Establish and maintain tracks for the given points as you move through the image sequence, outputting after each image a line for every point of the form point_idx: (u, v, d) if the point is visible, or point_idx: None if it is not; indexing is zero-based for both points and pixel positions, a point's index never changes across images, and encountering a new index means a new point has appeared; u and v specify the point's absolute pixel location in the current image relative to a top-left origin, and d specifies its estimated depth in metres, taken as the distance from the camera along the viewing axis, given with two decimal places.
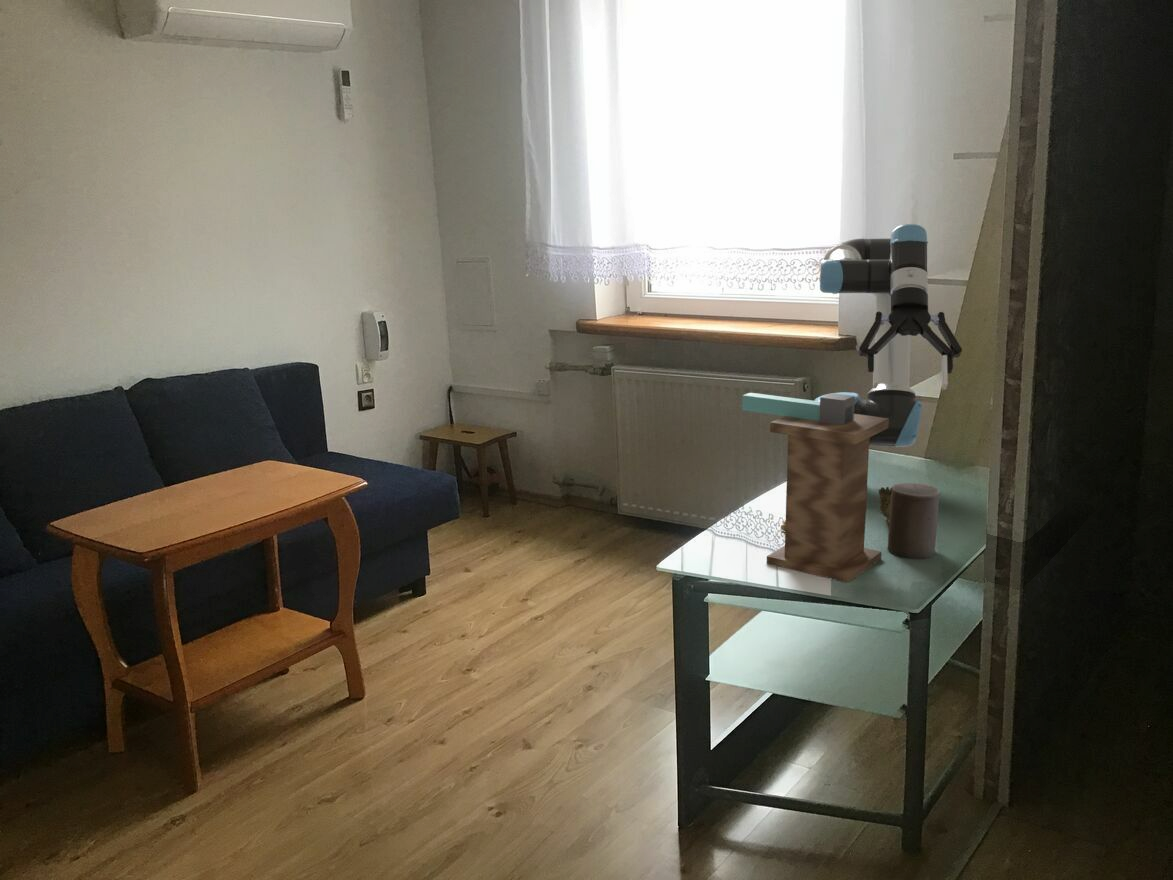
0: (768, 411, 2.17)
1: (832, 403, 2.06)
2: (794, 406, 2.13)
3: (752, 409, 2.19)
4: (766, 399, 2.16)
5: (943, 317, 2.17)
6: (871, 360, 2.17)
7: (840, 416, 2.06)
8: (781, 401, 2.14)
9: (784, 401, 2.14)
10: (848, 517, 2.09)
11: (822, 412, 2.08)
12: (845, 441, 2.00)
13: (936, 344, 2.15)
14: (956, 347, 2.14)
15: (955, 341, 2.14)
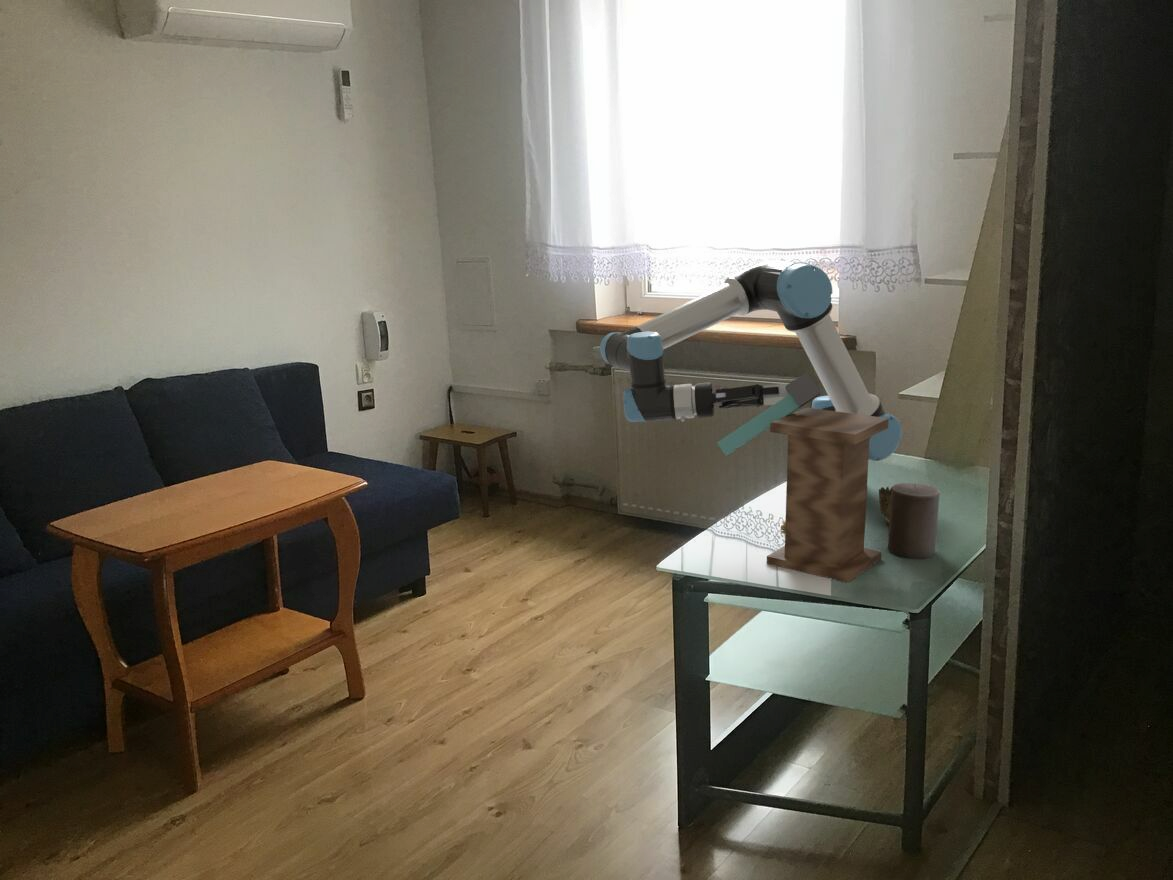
0: (749, 436, 2.15)
1: (799, 381, 2.13)
2: (768, 413, 2.14)
3: (734, 447, 2.15)
4: (740, 428, 2.15)
5: (722, 400, 2.21)
6: None
7: (813, 386, 2.12)
8: (754, 419, 2.15)
9: (757, 416, 2.15)
10: (848, 517, 2.09)
11: (796, 396, 2.13)
12: (845, 441, 2.00)
13: None
14: (754, 397, 2.17)
15: (748, 397, 2.18)
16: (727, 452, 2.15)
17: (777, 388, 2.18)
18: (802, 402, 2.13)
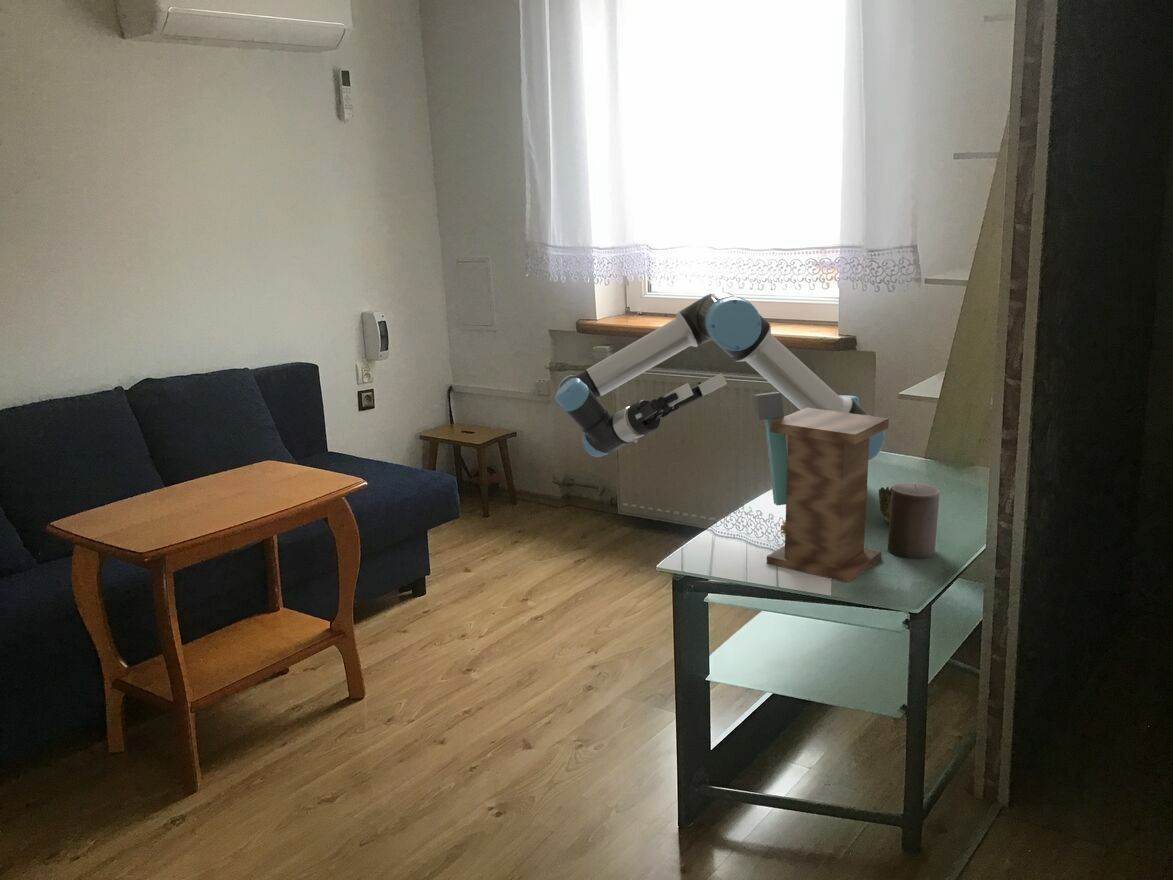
0: (786, 473, 2.15)
1: (762, 406, 2.13)
2: (775, 447, 2.15)
3: None
4: (775, 478, 2.15)
5: (641, 420, 2.31)
6: None
7: (773, 396, 2.13)
8: (773, 461, 2.15)
9: (772, 458, 2.15)
10: (848, 517, 2.09)
11: (773, 415, 2.13)
12: (845, 441, 2.00)
13: None
14: (657, 410, 2.25)
15: (653, 413, 2.26)
16: None
17: (673, 395, 2.22)
18: (782, 413, 2.13)
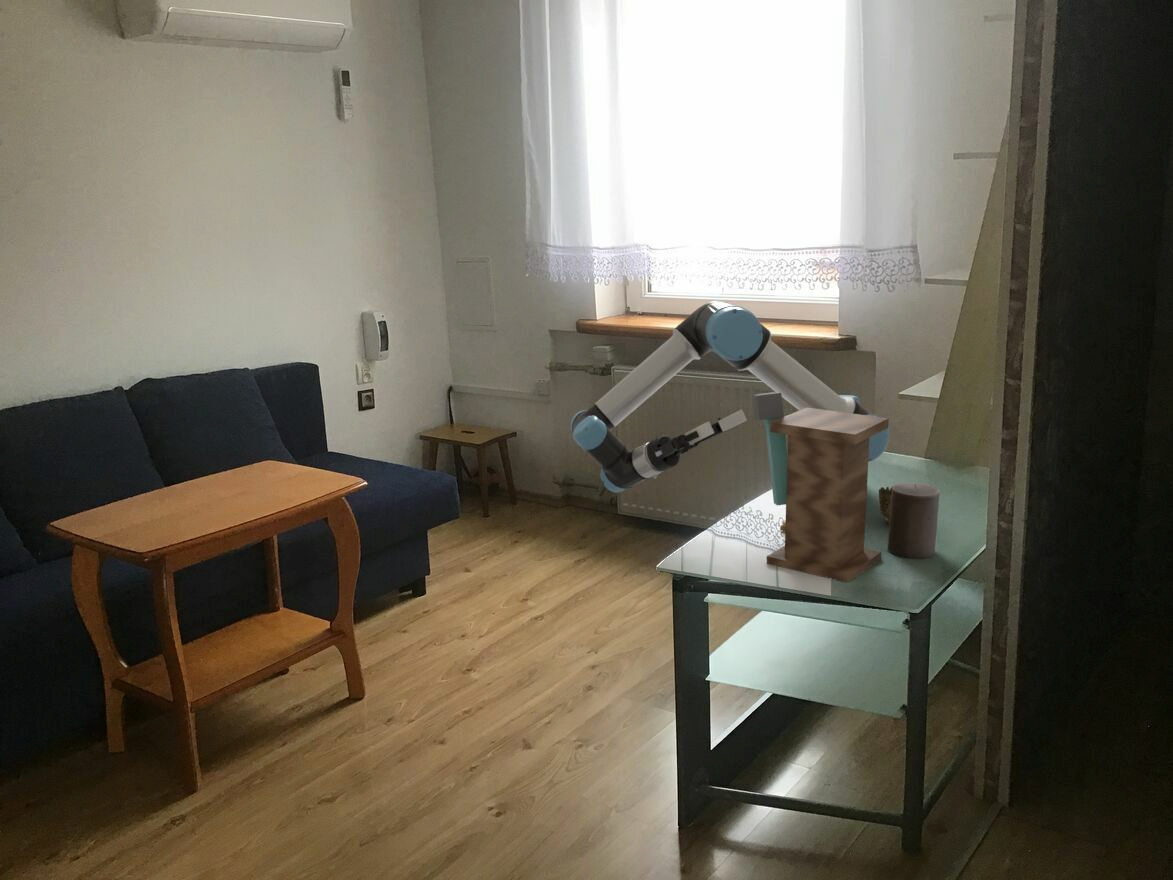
0: (786, 473, 2.15)
1: (762, 406, 2.13)
2: (775, 447, 2.15)
3: None
4: (775, 478, 2.15)
5: (661, 458, 2.29)
6: None
7: (773, 396, 2.13)
8: (773, 461, 2.15)
9: (772, 458, 2.15)
10: (848, 517, 2.09)
11: (773, 415, 2.13)
12: (845, 441, 2.00)
13: None
14: None
15: (674, 451, 2.24)
16: None
17: (693, 433, 2.21)
18: (782, 413, 2.13)
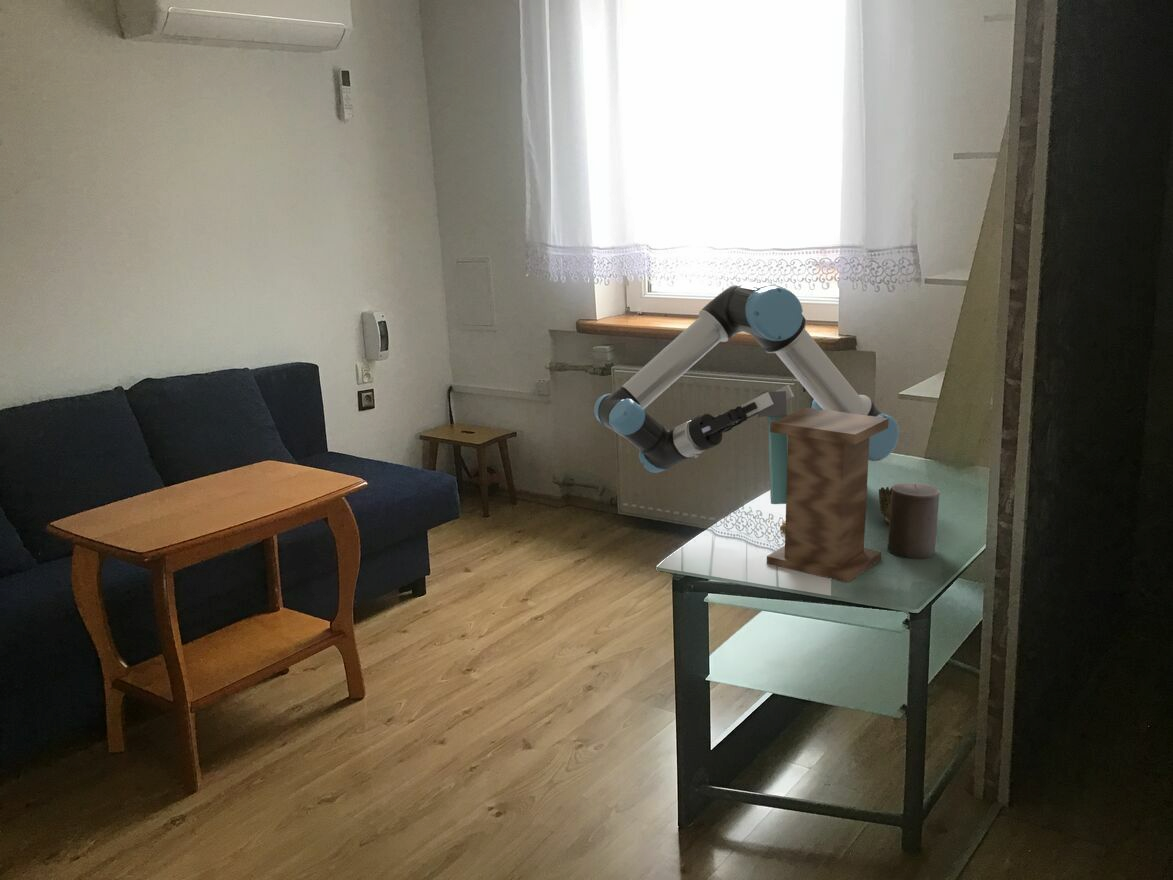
0: (785, 473, 2.15)
1: None
2: (776, 445, 2.15)
3: None
4: (773, 476, 2.15)
5: (709, 433, 2.21)
6: None
7: (777, 394, 2.15)
8: (773, 459, 2.15)
9: (772, 456, 2.15)
10: (848, 517, 2.09)
11: (776, 413, 2.14)
12: (845, 441, 2.00)
13: None
14: (734, 421, 2.16)
15: (729, 424, 2.17)
16: None
17: (751, 404, 2.14)
18: (785, 411, 2.14)
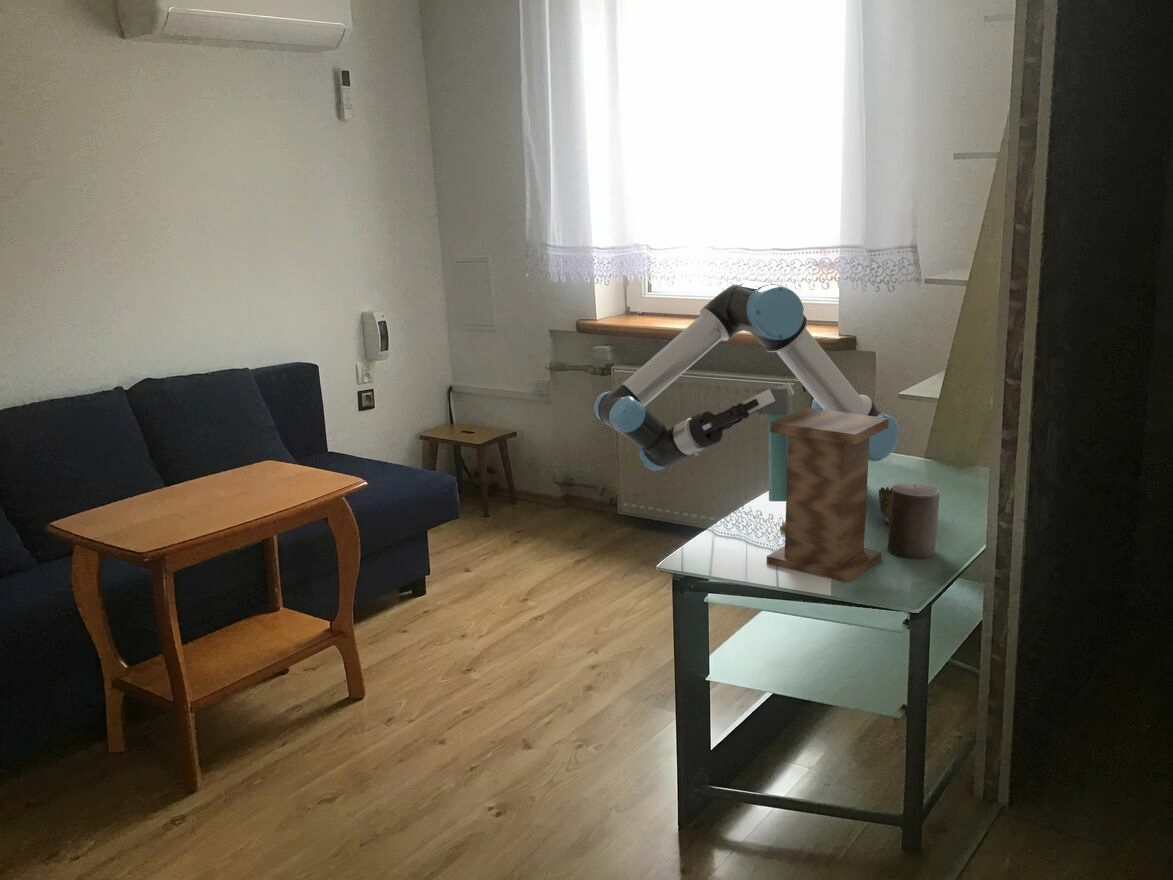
0: (784, 470, 2.15)
1: None
2: (776, 443, 2.15)
3: (785, 489, 2.15)
4: (772, 474, 2.15)
5: (710, 431, 2.21)
6: None
7: (778, 391, 2.15)
8: (772, 457, 2.15)
9: (772, 454, 2.15)
10: (848, 517, 2.09)
11: (777, 410, 2.15)
12: (845, 441, 2.00)
13: None
14: (736, 418, 2.16)
15: (730, 421, 2.17)
16: None
17: (753, 401, 2.14)
18: (786, 409, 2.15)
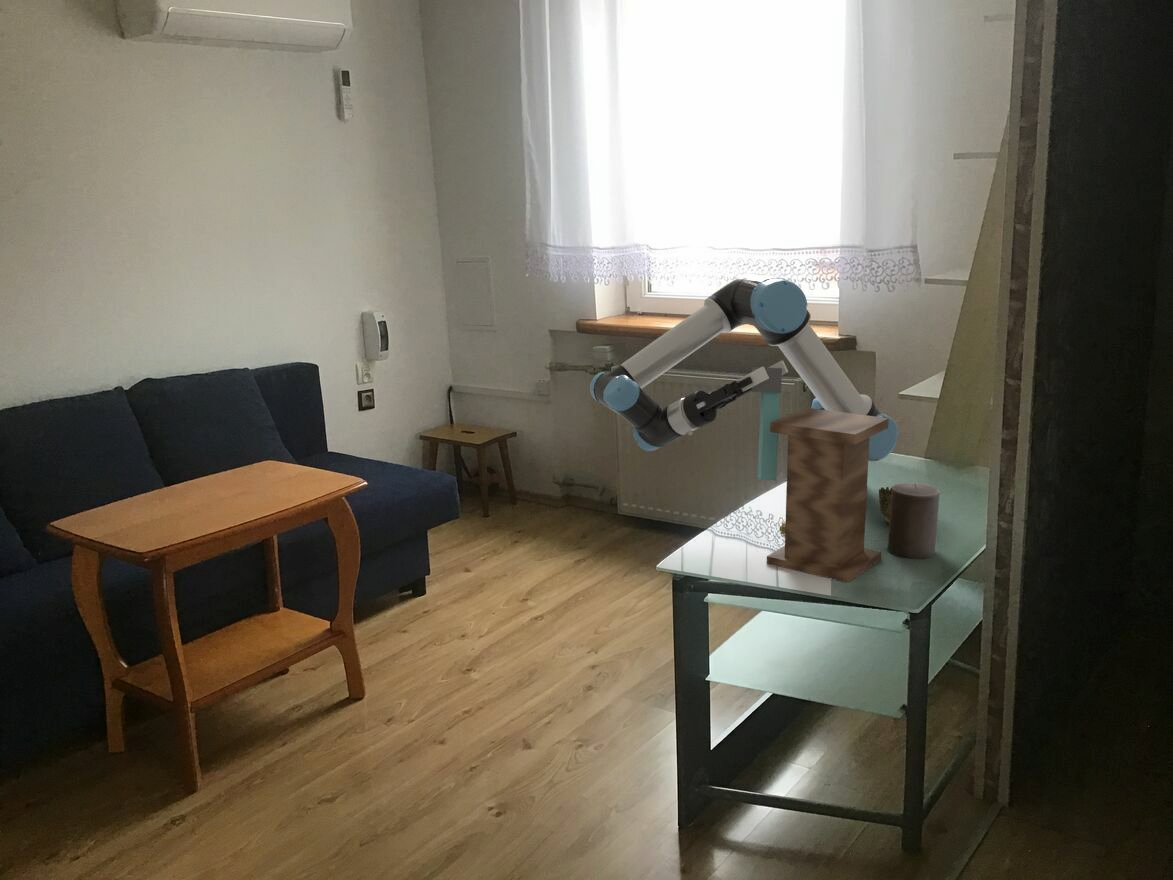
0: (775, 449, 2.16)
1: None
2: (767, 421, 2.16)
3: (774, 468, 2.16)
4: (763, 452, 2.16)
5: (704, 409, 2.20)
6: None
7: (773, 370, 2.14)
8: (763, 435, 2.16)
9: (763, 432, 2.16)
10: (848, 517, 2.09)
11: (771, 389, 2.14)
12: (845, 441, 2.00)
13: None
14: (730, 396, 2.15)
15: (724, 399, 2.16)
16: (775, 476, 2.16)
17: (747, 379, 2.13)
18: (779, 388, 2.15)
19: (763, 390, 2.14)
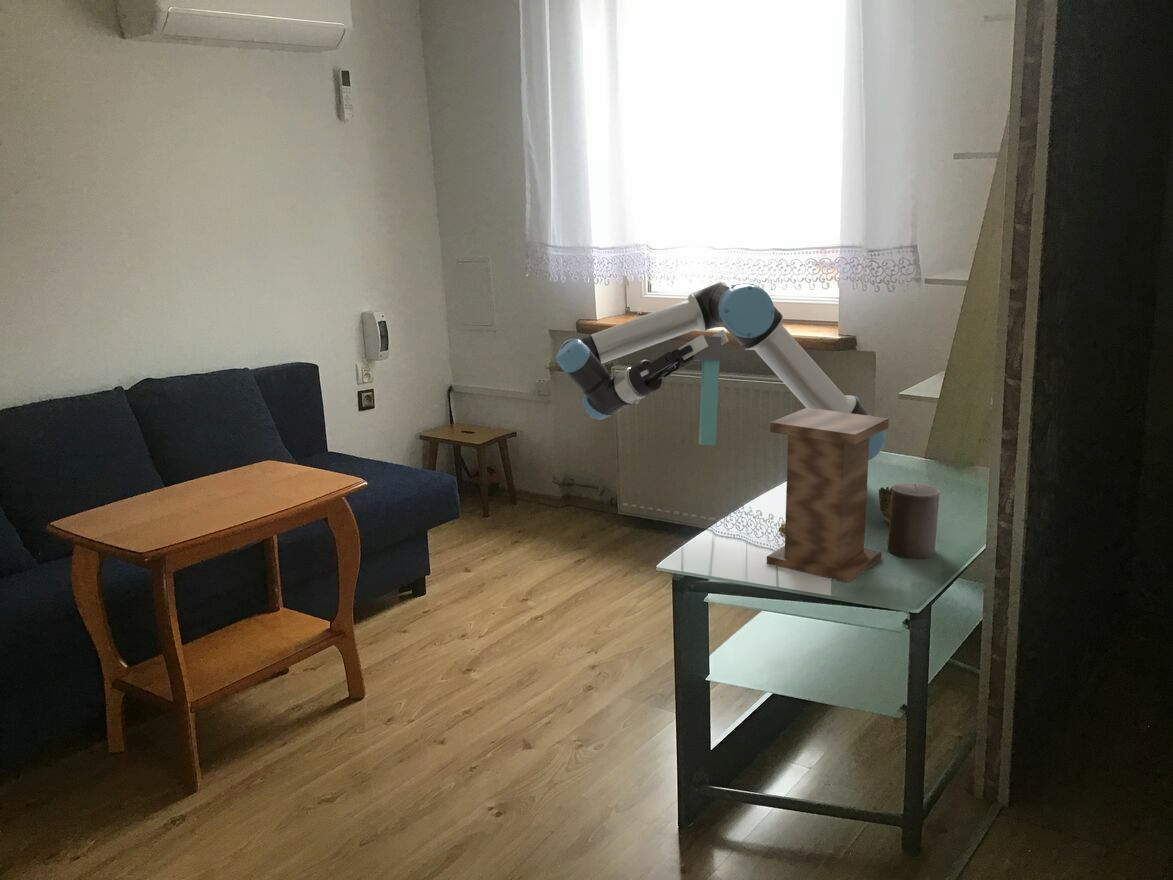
0: (714, 415, 2.23)
1: None
2: (707, 388, 2.23)
3: (714, 433, 2.24)
4: (703, 418, 2.23)
5: (647, 377, 2.28)
6: None
7: (712, 339, 2.22)
8: (704, 402, 2.23)
9: (703, 399, 2.23)
10: (848, 517, 2.09)
11: (710, 357, 2.22)
12: (845, 441, 2.00)
13: None
14: (671, 364, 2.23)
15: (666, 366, 2.24)
16: (714, 442, 2.24)
17: (687, 347, 2.21)
18: (719, 356, 2.22)
19: (703, 358, 2.22)
